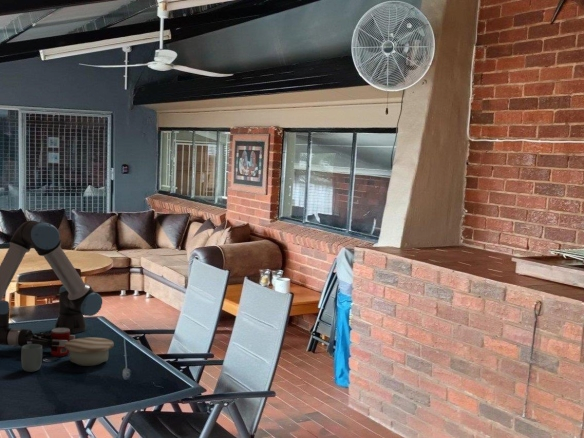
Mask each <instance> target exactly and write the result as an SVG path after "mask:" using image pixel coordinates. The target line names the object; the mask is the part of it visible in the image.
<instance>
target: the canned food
mask: <svg viewBox="0 0 584 438" xmlns="http://www.w3.org/2000/svg"><path fill="white" fill-rule="evenodd" d="M50 333H51V340H53V339H55V340H68V341H70V335H71V333H70V329H68V328H55V327H54V328H53V329H51V331H50ZM50 354H51V356H52V357H64V356H67V355H70V351H69V350H67V349H66V348H65V347H61V346H52V348H50Z"/></svg>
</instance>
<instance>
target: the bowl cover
mask: <svg viewBox="0 0 584 438" xmlns="http://www.w3.org/2000/svg"><path fill="white" fill-rule="evenodd" d="M65 348H66V349H67V350H69V352H70V351H73V352H80V353H94V352H102V351H106V350H111V349H112V348H114V341H113V340H111V339H109V338H104V337H93V336H92V337H79V338H75V339H73V340H70V341H68V342H66V343H65Z"/></svg>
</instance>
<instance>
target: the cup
mask: <svg viewBox="0 0 584 438" xmlns="http://www.w3.org/2000/svg"><path fill="white" fill-rule="evenodd" d="M20 351H21V352H20V353H21V354H20V355H21V356H20V359H21V360H20V361H21V366H22V369H23V371H25V372H27V373H28V372H29V373H33V372H37V371H38V370H40V368H41V366H42V362H43V347H42V345H39V344H28V345H24V346H21V349H20Z"/></svg>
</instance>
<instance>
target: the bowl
mask: <svg viewBox="0 0 584 438" xmlns="http://www.w3.org/2000/svg"><path fill="white" fill-rule="evenodd" d="M109 350H110V349H109ZM109 350H106V351H102V352H94V353H80V352H73V351H69V361H70V362H71V363H73V364H75V365H77V366H83V367H93V366H94V367H95V366H98V365H100V364H102V363H105V362H107V361H108V360H109Z"/></svg>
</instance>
